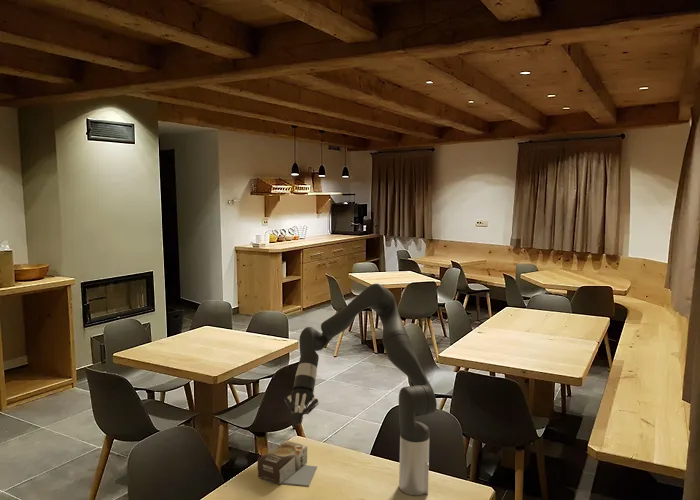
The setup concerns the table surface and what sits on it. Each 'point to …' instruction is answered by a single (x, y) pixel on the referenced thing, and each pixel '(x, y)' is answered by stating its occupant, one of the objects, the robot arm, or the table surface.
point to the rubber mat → (301, 476)
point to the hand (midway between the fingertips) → (296, 424)
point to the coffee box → (282, 461)
